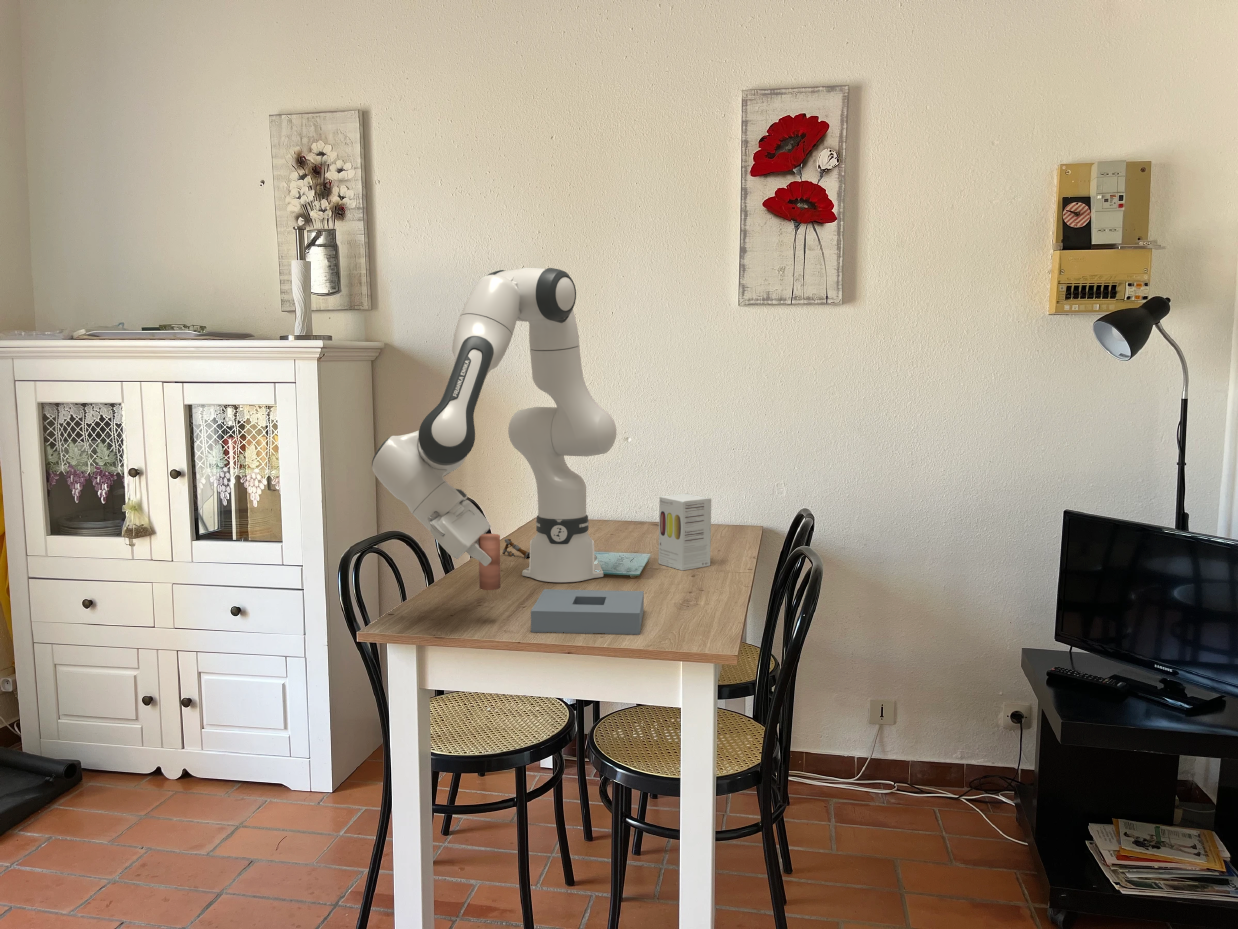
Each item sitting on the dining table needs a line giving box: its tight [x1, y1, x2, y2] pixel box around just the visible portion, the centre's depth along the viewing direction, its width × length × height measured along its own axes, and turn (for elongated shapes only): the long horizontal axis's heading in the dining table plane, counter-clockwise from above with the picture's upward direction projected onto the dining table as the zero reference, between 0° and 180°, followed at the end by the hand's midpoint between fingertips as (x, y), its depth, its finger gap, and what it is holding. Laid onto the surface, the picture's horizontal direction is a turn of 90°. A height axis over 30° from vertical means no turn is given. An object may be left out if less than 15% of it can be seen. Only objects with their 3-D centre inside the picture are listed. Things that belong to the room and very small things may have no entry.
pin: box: [478, 533, 502, 591], centre depth 175 cm, size 4×4×10 cm
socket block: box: [530, 588, 645, 635], centre depth 176 cm, size 16×20×4 cm
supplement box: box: [658, 493, 712, 571], centre depth 224 cm, size 10×9×17 cm
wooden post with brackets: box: [501, 538, 530, 559], centre depth 234 cm, size 2×8×4 cm, turn 62°
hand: (492, 559), depth 175 cm, fingers closed on pin, 4 cm apart
